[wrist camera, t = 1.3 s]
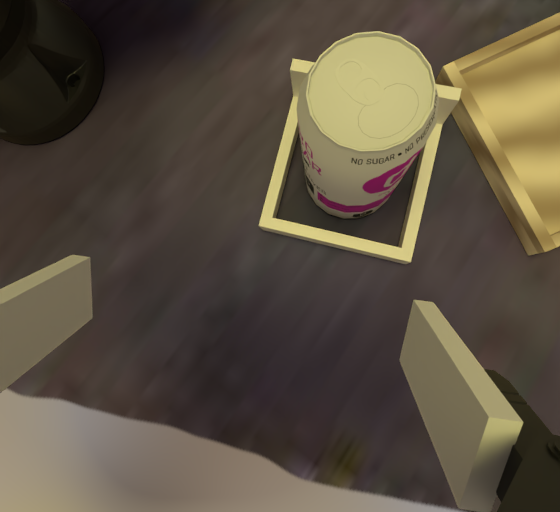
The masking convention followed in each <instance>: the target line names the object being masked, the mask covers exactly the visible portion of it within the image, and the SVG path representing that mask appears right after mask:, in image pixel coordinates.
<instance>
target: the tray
mask: <svg viewBox="0 0 560 512" xmlns="http://www.w3.org/2000/svg"><path fill="white" fill-rule="evenodd" d="M435 84H439V85H444V86H450V87H456V88H461V89H462V90H461V94H460V99H459V101H458V103H457V104H456V106H455V107H454V109H453V110H452V111H451V114H452V116H453V117H454V119H455V121H456V123H457V125H458V127H459V129H460V130H461V132H462V134H463V136H464V138H465V140H466V141H467V143H468V145H469V147H470V149H471V151H472V153H473V154H474V156H475V158H476V160H477V162H478V164H479V166H480V167H481V169H482V171H483V173H484V175H485V177H486V178H487V180H488V182H489V184H490V186H491V188H492V190H493V191H494V193H495V195H496V197H497V199H498V201H499V203H500V204H501V206H502V208H503V210H504V212H505V214H506V215H507V217H508V219H509V221H510V223H511V225H512V227H513V228H514V230H515V232H516V234H517V236H518V238H519V240H520V241H521V243H522V245H523V247H524V249H525V251H526V252H527V254H528V256H529V255H534V254H538V253H543V252H546V251H549V250H551V249H553V248H556V247H558V246H560V13H558V14H556V15H553V16H551V17H549V18H547V19H545V20H543V21H540V22H538V23H536V24H534V25H532V26H530V27H527V28H525V29H523V30H521V31H519V32H516V33H514V34H512V35H510V36H508V37H506V38H503V39H501V40H499V41H497V42H495V43H493V44H490V45H488V46H486V47H484V48H482V49H480V50H477V51H475V52H473V53H471V54H469V55H467V56H464V57H462V58H460V59H458V60H456V61H453V62H451V63H449V64H447V65H445V66H443V67H442V69H441V71H440V73H439V75H438V77H437V79H436V81H435Z"/></svg>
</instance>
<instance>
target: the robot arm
mask: <svg viewBox="0 0 560 512" xmlns="http://www.w3.org/2000/svg"><path fill="white" fill-rule="evenodd" d="M103 75H104V61H103V55H102V51H101V48H100V45H99V43H98V40H97V39H96V37H95V35H94V34H93V32H92V31H91V30H90V29H89V28H88V26H87V25H86V24H85V23H84V22H83V21H82V19H81V18H80V17H79V16H78V15H77V14H76V13H75V12H74V11H73V10H72V9H70V8H69V7H68V6H67V5H65V4H64V3H62V2H60V1H58V0H0V138H1V139H4V140H6V141H9V142H12V143H16V144H23V145H33V144H40V143H45V142H48V141H51V140H54V139H56V138H59V137H60V136H62V135H64V134H66V133H67V132H69V131H70V130H72V129H73V128H74V127H75V126H77V125H78V124H79V123H80V122H81V121H82V120H83V119H84V118H85V116H86V115H87V114H88V113H89V111H90V110H91V108H92V107H93V105H94V103H95V101H96V99H97V97H98V95H99V92H100V89H101V86H102V81H103ZM92 318H93V312H92V288H91V265H90V257H85V256H77V255H71V256H68V257H66V258H64V259H62V260H60V261H58V262H56V263H54V264H52V265H50V266H48V267H45V268H43V269H41V270H39V271H37V272H35V273H33V274H31V275H29V276H27V277H25V278H22V279H20V280H18V281H16V282H14V283H12V284H10V285H8V286H6V287H4V288H2V289H0V393H1V392H2V391H3V390H5V389H6V388H7V387H8V386H10V385H11V384H12V383H13V382H15V381H16V380H17V379H18V378H19V377H21V376H22V375H23V374H24V373H26V372H27V371H28V370H29V369H31V368H32V367H33V366H34V365H35V364H37V363H38V362H39V361H40V360H42V359H43V358H44V357H45V356H47V355H48V354H49V353H50V352H51V351H53V350H54V349H55V348H56V347H58V346H59V345H60V344H61V343H63V342H64V341H65V340H66V339H67V338H69V337H70V336H71V335H72V334H74V333H75V332H76V331H77V330H79V329H80V328H81V327H82V326H83V325H85V324H86V323H87V322H88V321H90V320H91V319H92ZM399 361H400V363H401V366H402V368H403V371H404V373H405V376H406V378H407V381H408V383H409V386H410V388H411V391H412V393H413V396H414V398H415V401H416V403H417V406H418V408H419V411H420V413H421V416H422V418H423V421H424V423H425V426H426V428H427V431H428V433H429V436H430V438H431V441H432V443H433V446H434V448H435V451H436V453H437V456H438V458H439V461H440V463H441V466H442V468H443V471H444V473H445V476H446V478H447V481H448V483H449V486H450V488H451V491H452V493H453V496H454V498H455V501H456V503H457V506H458V508H459V509H466V510H472V511H479V512H491V509H492V506H493V504H494V501H495V498H496V495H498V497H499V499H500V501H501V505H500V507H499V509H498V511H497V512H560V436H557V435H553V434H552V433H551V432H550V431H549V429H548V428H547V427H546V426H545V425H544V423H543V422H542V421H541V420H540V418H539V417H538V416H537V415H536V414H535V412H534V411H533V410H532V409H531V408H530V406H529V405H527V403H526V401H525V400H524V399H523V398H522V397H521V396H520V395H519V393H518V392H517V390H516V389H515V388H514V387H513V386H512V384H511V383H510V382H509V381H508V380H506V379H505V378H504V377H502V376H501V375H500V374H498V373H497V372H495V371H493V370H486V369H483V368H482V366H481V365H480V364H479V362H478V361H477V360H476V358H475V357H474V356H473V354H472V353H471V352H470V351H469V349H468V348H467V347H466V345H465V344H464V343H463V341H462V340H461V339H460V337H459V336H458V335H457V333H456V332H455V331H454V329H453V328H452V327H451V325H450V324H449V323H448V321H447V320H446V319H445V317H444V316H443V315H442V313H441V312H440V311H439V309H438V308H437V307H436V305H435V304H434V303H433V302H427V301H420V300H413V304H412V308H411V313H410V317H409V321H408V325H407V330H406V334H405V338H404V343H403V347H402V351H401V355H400V360H399Z"/></svg>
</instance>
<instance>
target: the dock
mask: <svg viewBox="0 0 560 512" xmlns="http://www.w3.org/2000/svg"><path fill="white" fill-rule="evenodd" d="M314 64H315V62H309V61H303V60H298V59H293V61H292V64H291V68H290V74H291V81H292V89H293V99H292V103H291V107H290V111H289V114H288V118H287V122H286V126H285V129H284V133H283V137H282V141H281V144H280V148H279V152H278V155H277V159H276V163H275V167H274V170H273V174H272V178H271V182H270V185H269V189H268V193H267V197H266V200H265V204H264V208H263V212H262V215H261V219H260V223H259V227H260V228H261V229H262V230H265V231H269V232H273V233H277V234H282V235H286V236H290V237H294V238H298V239H302V240H306V241H311V242H315V243H319V244H323V245H327V246H331V247H335V248H340V249H344V250H348V251H352V252H356V253H360V254H364V255H369V256H373V257H377V258H381V259H385V260H389V261H394V262H398V263H402V264H408V263H410V262H411V259H412V255H413V250H414V246H415V242H416V237H417V233H418V229H419V224H420V220H421V216H422V211H423V207H424V203H425V198H426V194H427V190H428V185H429V181H430V177H431V172H432V168H433V164H434V159H435V155H436V151H437V146H438V142H439V138H440V133H441V129H442V124H443V123H444V122H445V120H446V119H447V117H448V116H449V114H450V113H451V111H452V110H453V109H454V107H455V106H456V104H457V103H458V101H459V99H460V94H461V90H462V89H461V88H456V87H450V86H444V85H439V84H436V89H437V93H438V97H439V107H438V115H437V122H436V125H435V127H434V129H433V131H432V132H431V134H430V136H429V138H428V140H427V141H426V143H425V145H424V147H423V148H422V150H421V151H420V155H419V159H418V163H417V167H416V172H415V176H414V180H413V184H412V189H411V193H410V197H409V202H408V206H407V210H406V214H405V219H404V223H403V227H402V231H401V236H400V240H399V244H398V247H395V246H391V245H386V244H382V243H378V242H374V241H369V240H365V239H361V238H357V237H352V236H348V235H344V234H340V233H336V232H331V231H327V230H323V229H319V228H314V227H310V226H306V225H302V224H297V223H293V222H289V221H285V220H280V219H276V216H277V212H278V209H279V205H280V201H281V197H282V193H283V190H284V186H285V182H286V178H287V174H288V171H289V167H290V163H291V159H292V156H293V152H294V148H295V144H296V140H297V137H298V133H299V126H298V118H297V110H296V108H297V102H298V96H299V90H300V86H301V84H302V82H303V80H304V79H305V77H306V75H307V73H308V72H309V70H310V68H311V67H312V65H314Z"/></svg>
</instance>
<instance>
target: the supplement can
mask: <svg viewBox="0 0 560 512" xmlns="http://www.w3.org/2000/svg"><path fill="white" fill-rule="evenodd" d="M438 107H439V97H438V93H437V89H436V84H435V80H434V76H433V72H432V68H431V65H430V64H429V62H428V61H427V60H426V58H425V57H424V56H423V54H422V53H421V51H420V50H419V49H418V48H417V47H415V46H414V45H412V44H411V43H409V42H408V41H406V40H405V39H403V38H402V37H400V36H396V35H392V34H388V33H384V32H380V31H376V32H363V33H355V34H353V35H351V36H348V37H346V38H343V39H341V40H339V41H336V42H335V43H334V44H333V45H332V46H330V47H329V48H328V49H327V50H326V51H325V52H324V53H322V54H321V55H320V56H319V58H318V60H317V61H316V63H315V64H314V65H312V67H311V68H310V70H309V72H308V73H307V75H306V77H305V79H304V80H303V82H302V84H301V86H300V90H299V96H298V102H297V108H296V110H297V118H298V126H299V134H300V142H301V150H302V158H303V166H304V173H305V180H306V185H307V190H308V193H309V194H310V196H311V197H312V199H313V201H314V202H315V204H316V205H317V206H319V207H320V208H321V209H323V210H324V211H325V212H326V213H328V214H330V215H334V216H337V217H340V218H343V219H346V218H361V217H363V216H366V215H369V214H371V213H374V212H375V211H376V210H377V209H379V208H380V207H381V206H382V205H383V204H384V203H386V202H387V200H388V199H389V197H390V196H391V194H392V193H393V191H394V190H395V188H396V187H397V185H398V184H399V182H400V181H401V179H402V178H403V176H404V175H405V173H406V172H407V170H408V169H409V167H410V166H411V164H412V163H413V161H414V160H415V158H416V157H417V155H418V154H419V153H420V151H421V150H422V148H423V147H424V145H425V143H426V141H427V140H428V138H429V136H430V134H431V132H432V131H433V129H434V127H435V125H436V122H437V115H438Z"/></svg>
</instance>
